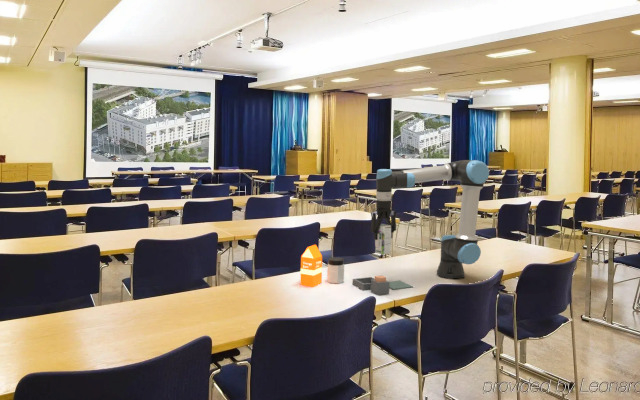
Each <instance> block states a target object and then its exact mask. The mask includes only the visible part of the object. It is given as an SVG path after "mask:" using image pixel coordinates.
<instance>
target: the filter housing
mask: <svg viewBox="0 0 640 400" xmlns="http://www.w3.org/2000/svg"><path fill="white" fill-rule="evenodd" d="M389 282H390V280H389V281H388V280H386V282H377V281H375V277H372V276H368V277H367V276H366V277H360V278H359V277H358V278H352V285H353V286H354V287H356V288H358V289H360V290H361V291H370V292H371V293H373V294H375V295H376V296H382V295H383V296H384V295H389V294H390V288H389Z"/></svg>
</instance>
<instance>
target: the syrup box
mask: <svg viewBox="0 0 640 400" xmlns="http://www.w3.org/2000/svg"><path fill="white" fill-rule="evenodd" d="M378 233H379V247H378V246H375V251H374V252H375V254H379V255H382V256H383V255H388V254H391V253H392V252H391V250H392V248H391V247H392V238H391V225H387V224H385V223H381V225H380V228H379V231H378Z"/></svg>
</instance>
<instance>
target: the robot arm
mask: <svg viewBox="0 0 640 400" xmlns="http://www.w3.org/2000/svg"><path fill="white" fill-rule="evenodd" d="M489 176H490V169H489V167H488V166H487V164H486V163H485V162H484V161H481V160H476V159H473V160H471V159H462V160H457V161H451V162H446V163H444V164H443V165H437V166H430V167H429V166H428V167H420V168H413V169H406V170H398V171H397V170H395V171H392V169H390V168H389V169H387V168H380V169H377V170H376V195H375V196H376V197H375V198H376V202H375V205H376V210H375V211H374V212H370V215H371V218H370V219H371V221H370V230H369V231H370V233H373V240H374V245H375V247H376V246H378V247H379V233H378V231H379V228H380V225H381V224H382V221H383V220H385V223H386V225H391V239H393V235H394V232H395V231H397V221H396V219H397V218H396V215H397V211H395V210H392V189H405V188H406V189H410V188H411V189H412V188H414V187H415V184H418V183H419V184H420V183H427V182H434V181H443V180H445V181H447V182H449V181H456V182H460V185H459V186H460V187H461V188H462V193H461V194H462V195H461V204H460V214H459V225H458V232H457V234H445V235H444V234H443V235H442V237H441V239H440V240H441V241H440V244H441V245H440V260H439V264H438V267H437V269H436V276H437V275H438V276H437V277H439V276H441V277H440V278H443V277H445V278H444V279H448V278H461V279H464V278H465V277H464V276H465V274H466V273H465V269H464V266H463V265H464V264H465V265H472V264H475V263H476V262H477V261H478V260H479V259H480V257H481V253H482V251H481V247H479V245H478V242H479V241H478V240H479V239H478V237H477V236H476V234H477V233H476V231H477V221H478V211H479V202H480V201H479V200H480V195H481V194H480V192H481V190H482V189H483V188H484V184H485V183H486V181H487V180H489ZM463 277H464V278H463Z"/></svg>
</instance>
